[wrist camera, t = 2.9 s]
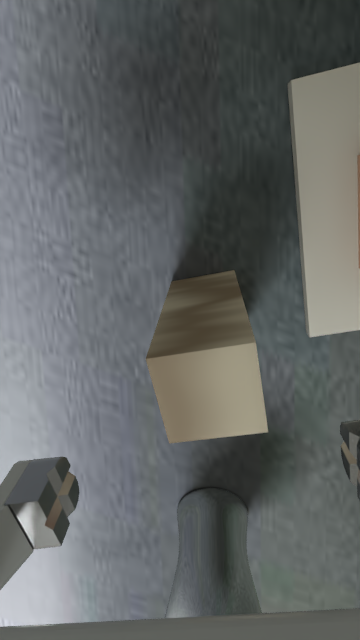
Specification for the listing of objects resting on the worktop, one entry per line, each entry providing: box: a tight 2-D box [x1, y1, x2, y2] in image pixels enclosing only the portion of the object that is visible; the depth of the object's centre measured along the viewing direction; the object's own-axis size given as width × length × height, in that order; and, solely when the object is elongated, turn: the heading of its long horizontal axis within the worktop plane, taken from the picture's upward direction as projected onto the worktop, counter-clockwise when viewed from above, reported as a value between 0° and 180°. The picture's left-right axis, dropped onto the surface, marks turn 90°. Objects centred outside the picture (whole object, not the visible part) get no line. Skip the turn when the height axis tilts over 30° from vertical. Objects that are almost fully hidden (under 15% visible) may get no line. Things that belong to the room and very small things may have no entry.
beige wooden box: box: [146, 270, 268, 443], centre depth 17 cm, size 4×4×10 cm
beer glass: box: [165, 488, 262, 618], centre depth 23 cm, size 7×7×15 cm
